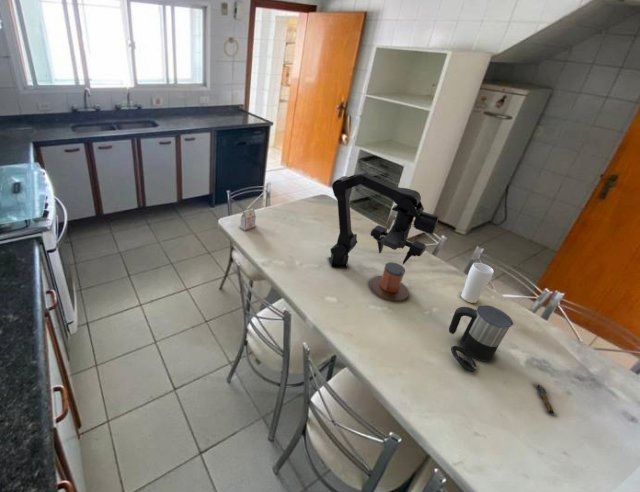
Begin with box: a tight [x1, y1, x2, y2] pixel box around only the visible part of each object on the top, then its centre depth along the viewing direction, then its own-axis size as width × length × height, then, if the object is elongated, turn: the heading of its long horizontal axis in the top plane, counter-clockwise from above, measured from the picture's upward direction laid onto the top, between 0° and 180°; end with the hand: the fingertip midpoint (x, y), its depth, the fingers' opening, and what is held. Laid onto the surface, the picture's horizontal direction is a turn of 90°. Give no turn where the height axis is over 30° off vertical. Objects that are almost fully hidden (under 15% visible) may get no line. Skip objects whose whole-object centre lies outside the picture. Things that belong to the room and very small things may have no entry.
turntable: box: [369, 275, 409, 303], centre depth 130 cm, size 14×14×1 cm
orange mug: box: [380, 261, 406, 293], centre depth 127 cm, size 9×7×9 cm
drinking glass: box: [460, 262, 495, 304], centre depth 124 cm, size 7×7×15 cm
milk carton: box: [239, 207, 257, 231], centre depth 166 cm, size 4×7×10 cm, turn 129°
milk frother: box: [448, 304, 514, 372], centre depth 100 cm, size 14×16×15 cm
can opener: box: [536, 384, 555, 414], centre depth 91 cm, size 9×2×1 cm, turn 152°
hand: (391, 258), depth 127 cm, fingers open, 9 cm apart
